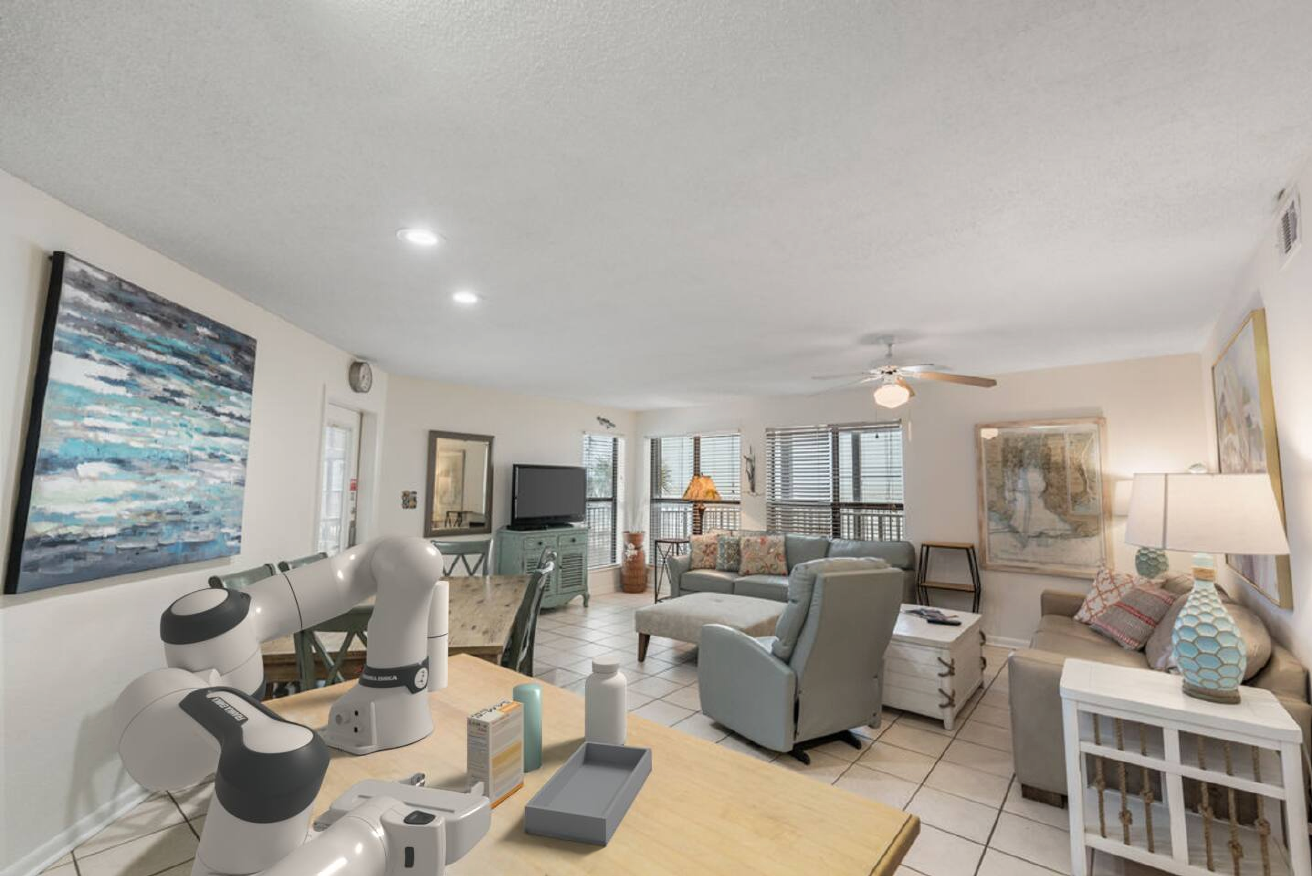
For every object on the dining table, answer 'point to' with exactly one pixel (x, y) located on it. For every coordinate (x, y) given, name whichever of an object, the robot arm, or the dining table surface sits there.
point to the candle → (531, 723)
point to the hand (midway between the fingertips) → (449, 782)
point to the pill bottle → (606, 702)
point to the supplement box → (496, 749)
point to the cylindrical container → (438, 637)
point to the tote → (589, 793)
